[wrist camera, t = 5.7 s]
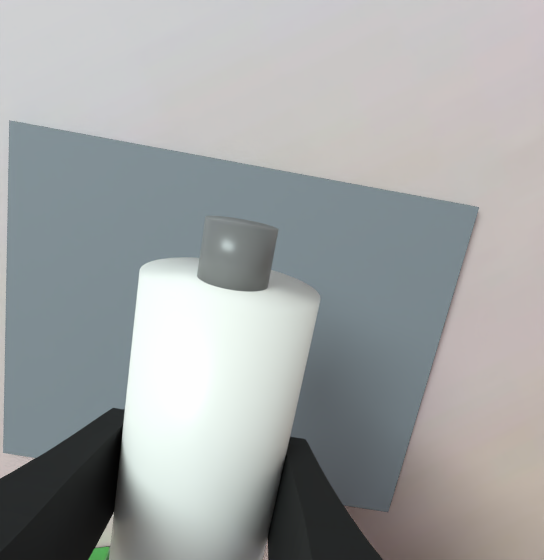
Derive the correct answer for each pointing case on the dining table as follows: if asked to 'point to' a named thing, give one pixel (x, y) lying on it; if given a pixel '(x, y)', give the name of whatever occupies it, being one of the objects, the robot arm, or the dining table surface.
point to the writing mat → (187, 243)
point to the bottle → (210, 398)
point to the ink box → (100, 553)
